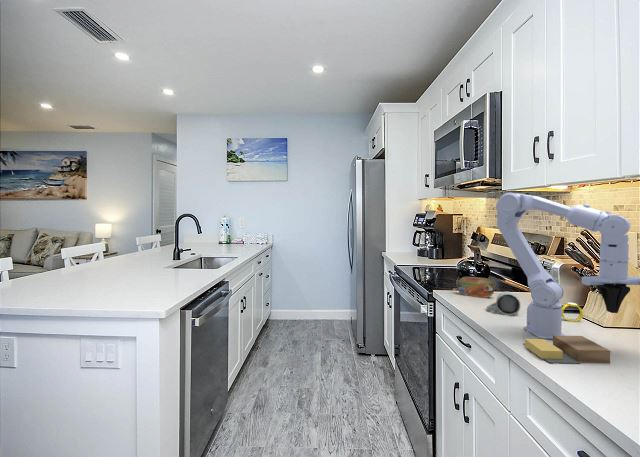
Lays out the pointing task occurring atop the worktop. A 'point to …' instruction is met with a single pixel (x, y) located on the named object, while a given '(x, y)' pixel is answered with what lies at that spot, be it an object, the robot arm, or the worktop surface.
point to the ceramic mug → (506, 304)
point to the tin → (475, 287)
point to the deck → (582, 349)
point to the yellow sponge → (543, 349)
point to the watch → (573, 306)
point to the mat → (562, 360)
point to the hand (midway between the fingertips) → (612, 312)
